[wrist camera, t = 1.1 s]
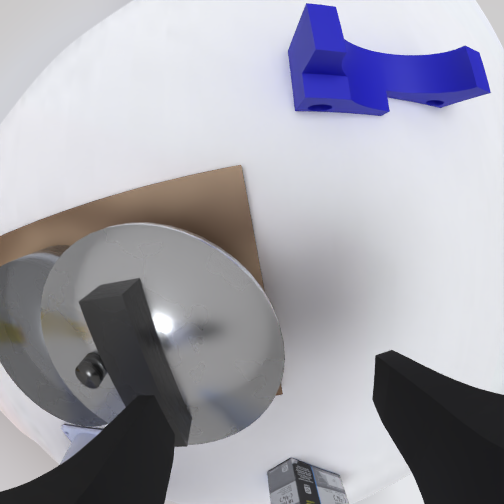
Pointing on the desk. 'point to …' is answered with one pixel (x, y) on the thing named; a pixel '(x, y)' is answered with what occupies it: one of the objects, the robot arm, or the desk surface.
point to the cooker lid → (163, 329)
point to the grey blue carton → (304, 485)
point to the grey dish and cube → (34, 338)
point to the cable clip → (373, 71)
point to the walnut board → (156, 217)
